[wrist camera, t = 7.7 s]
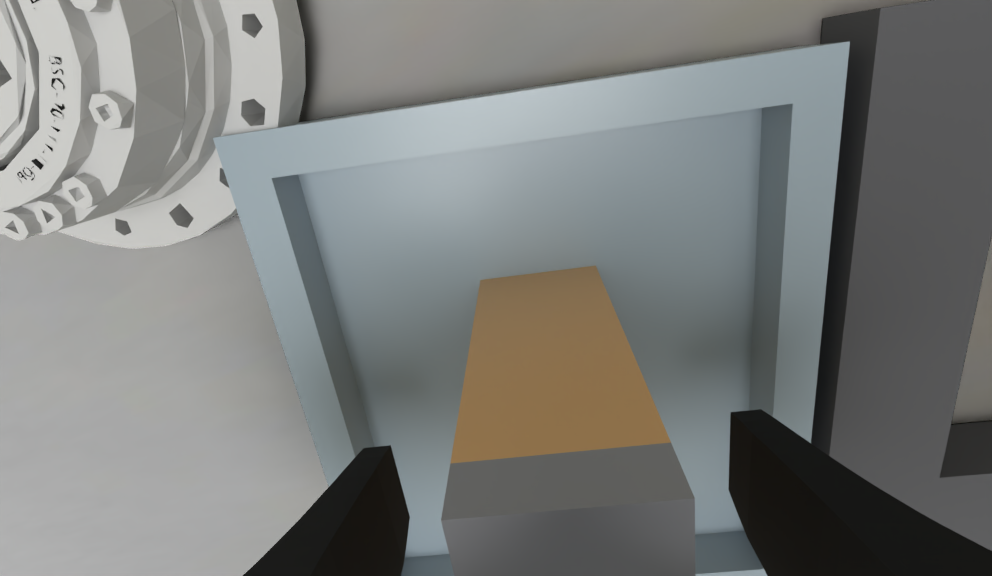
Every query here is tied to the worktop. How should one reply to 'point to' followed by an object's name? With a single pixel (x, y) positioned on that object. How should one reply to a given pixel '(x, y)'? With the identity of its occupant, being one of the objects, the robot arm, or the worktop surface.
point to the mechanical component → (136, 111)
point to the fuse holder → (910, 257)
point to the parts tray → (556, 256)
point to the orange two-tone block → (561, 442)
